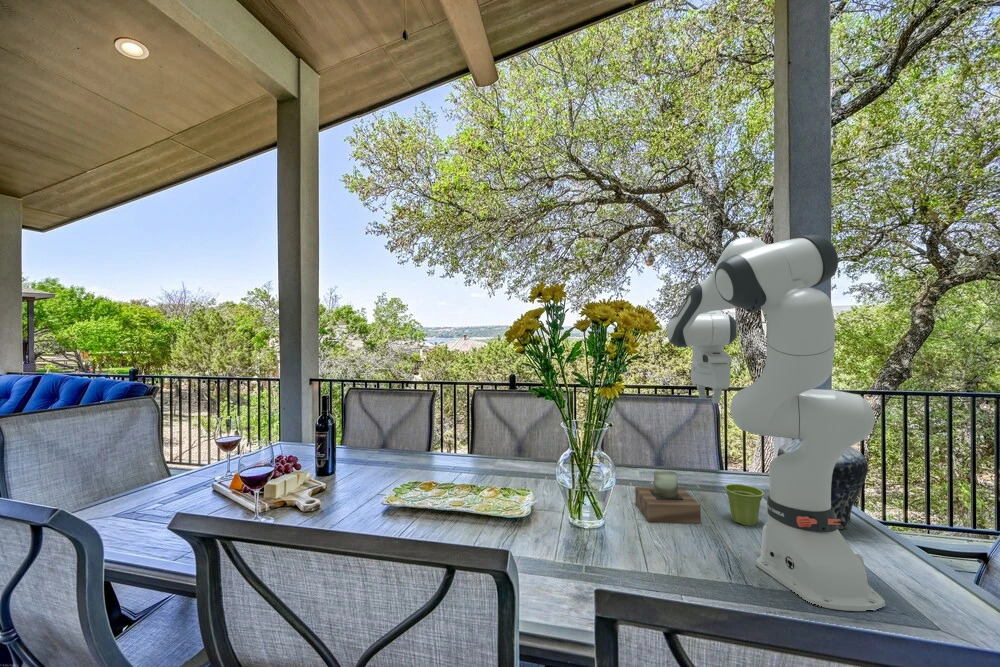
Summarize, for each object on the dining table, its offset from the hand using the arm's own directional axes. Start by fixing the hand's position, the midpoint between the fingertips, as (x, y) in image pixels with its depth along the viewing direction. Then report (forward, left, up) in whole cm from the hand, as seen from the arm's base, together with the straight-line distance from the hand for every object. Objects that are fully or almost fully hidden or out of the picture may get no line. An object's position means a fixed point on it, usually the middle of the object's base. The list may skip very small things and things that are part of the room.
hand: (709, 400), depth 131 cm
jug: (-14, -23, -31) cm, 41 cm away
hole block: (-9, +16, -31) cm, 36 cm away
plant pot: (-14, -3, -31) cm, 34 cm away
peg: (-9, +16, -30) cm, 36 cm away
